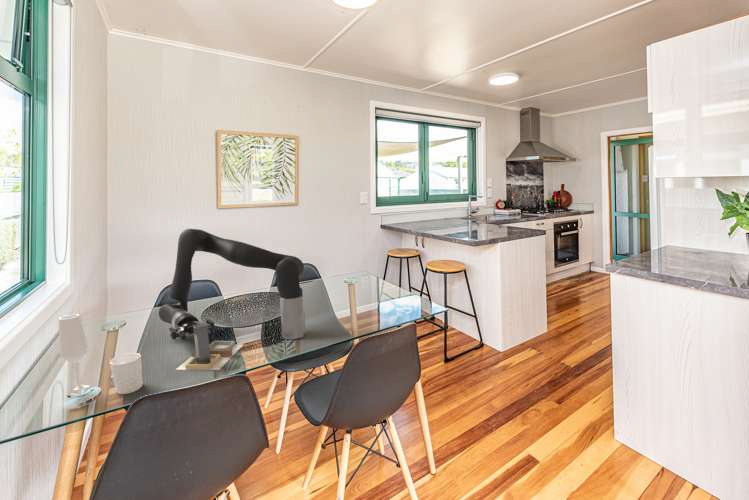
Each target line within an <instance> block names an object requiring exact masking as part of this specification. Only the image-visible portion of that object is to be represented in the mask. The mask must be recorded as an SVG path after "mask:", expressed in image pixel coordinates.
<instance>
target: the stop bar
mask: <svg viewBox="0 0 749 500" xmlns="http://www.w3.org/2000/svg"><path fill="white" fill-rule="evenodd" d="M193 329H194V333H193V337H194V345H195V346H194V347H195V348H196V358H197V364H209V363H210V362H211V359H210V349H209V344H210V340H209V333H208V328H207V325H206V324H205V323H200V324H196V325H193Z"/></svg>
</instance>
